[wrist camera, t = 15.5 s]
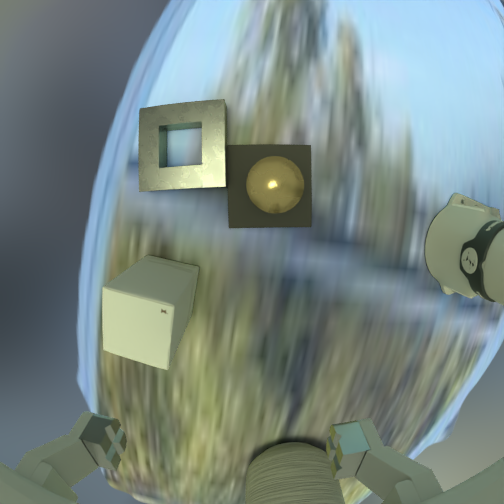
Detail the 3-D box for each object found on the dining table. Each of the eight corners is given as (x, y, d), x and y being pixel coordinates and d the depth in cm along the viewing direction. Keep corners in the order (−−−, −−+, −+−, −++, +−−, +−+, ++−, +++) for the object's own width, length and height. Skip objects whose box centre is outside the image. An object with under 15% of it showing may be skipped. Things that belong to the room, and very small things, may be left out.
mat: (310, 145, 39) (310, 145, 38) (310, 226, 41) (311, 226, 41) (227, 145, 39) (226, 145, 38) (229, 227, 41) (228, 228, 41)
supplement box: (145, 253, 42) (100, 283, 27) (200, 265, 43) (176, 304, 28) (140, 304, 44) (101, 350, 29) (191, 318, 45) (168, 372, 30)
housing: (226, 107, 37) (224, 99, 33) (227, 186, 40) (225, 186, 36) (149, 115, 37) (139, 108, 33) (149, 191, 40) (139, 191, 36)
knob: (288, 165, 39) (303, 156, 28) (288, 207, 40) (303, 213, 29) (246, 165, 39) (246, 155, 28) (246, 207, 40) (246, 213, 29)
